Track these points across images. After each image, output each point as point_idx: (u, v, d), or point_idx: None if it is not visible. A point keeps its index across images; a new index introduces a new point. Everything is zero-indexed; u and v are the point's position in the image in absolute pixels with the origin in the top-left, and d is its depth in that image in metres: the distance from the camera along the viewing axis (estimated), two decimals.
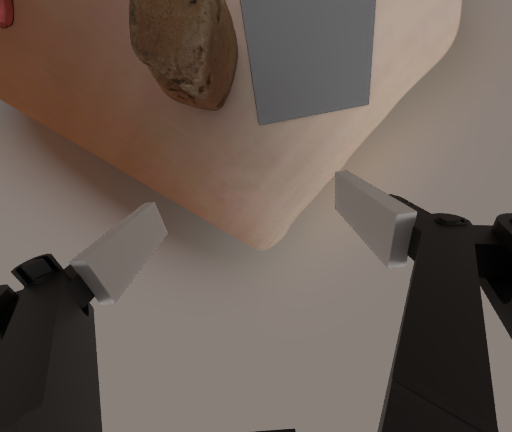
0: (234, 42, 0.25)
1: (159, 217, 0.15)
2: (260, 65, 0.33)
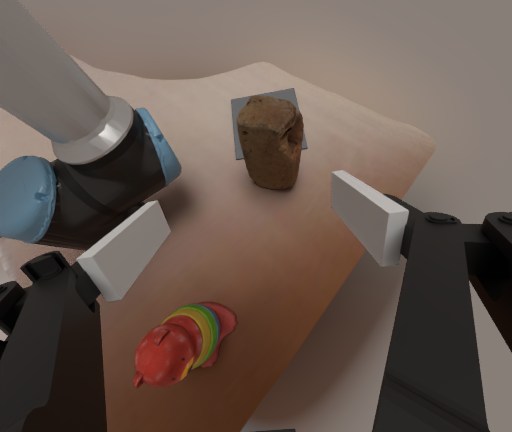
0: None
1: (162, 216, 0.15)
2: None
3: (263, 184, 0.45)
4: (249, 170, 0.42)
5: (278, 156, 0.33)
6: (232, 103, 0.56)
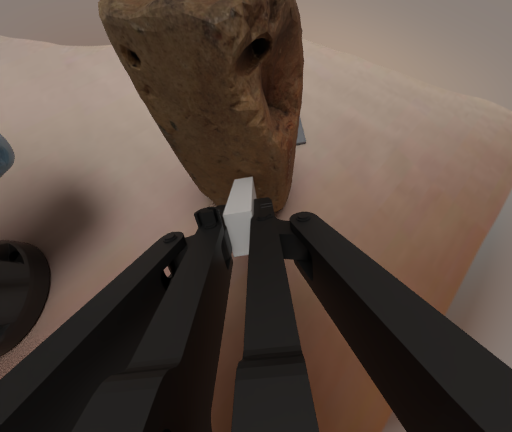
0: None
1: None
2: None
3: None
4: (193, 178, 0.21)
5: (239, 136, 0.13)
6: None
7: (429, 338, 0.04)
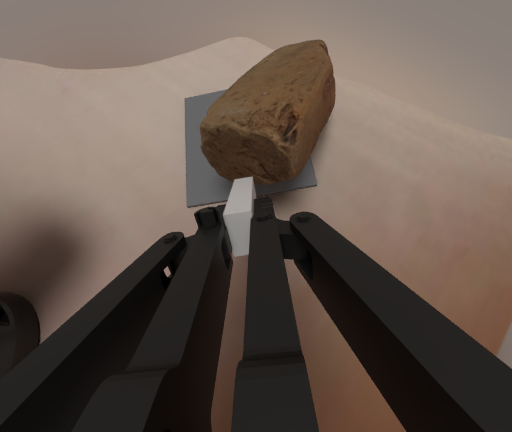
0: None
1: None
2: None
3: (224, 110, 0.17)
4: (226, 91, 0.21)
5: (309, 51, 0.21)
6: (186, 104, 0.33)
7: (429, 338, 0.04)
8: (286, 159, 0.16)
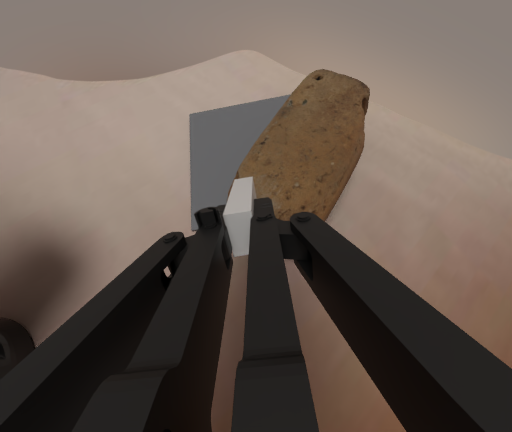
0: None
1: None
2: None
3: (258, 191, 0.19)
4: (258, 145, 0.21)
5: (349, 117, 0.21)
6: (191, 120, 0.32)
7: (429, 338, 0.04)
8: None
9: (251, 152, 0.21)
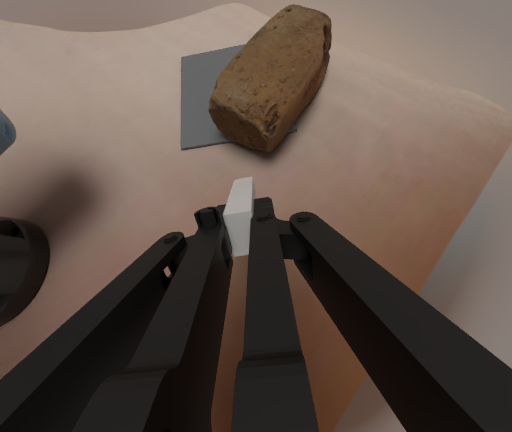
0: None
1: None
2: None
3: (231, 90, 0.23)
4: (234, 59, 0.25)
5: (310, 37, 0.25)
6: (183, 62, 0.36)
7: (429, 338, 0.04)
8: (265, 142, 0.24)
9: (228, 64, 0.25)
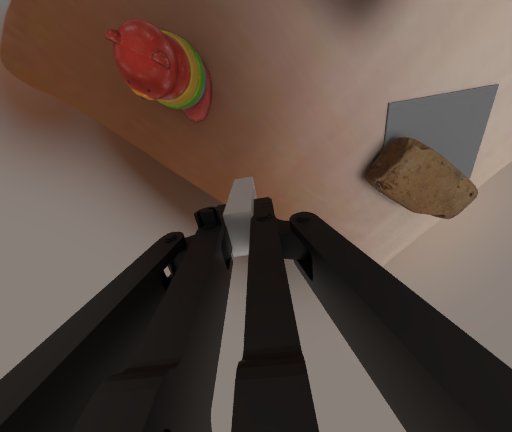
0: None
1: None
2: None
3: (413, 161, 0.35)
4: (441, 160, 0.36)
5: (437, 208, 0.40)
6: (489, 87, 0.37)
7: (429, 338, 0.04)
8: (371, 179, 0.40)
9: (438, 156, 0.35)
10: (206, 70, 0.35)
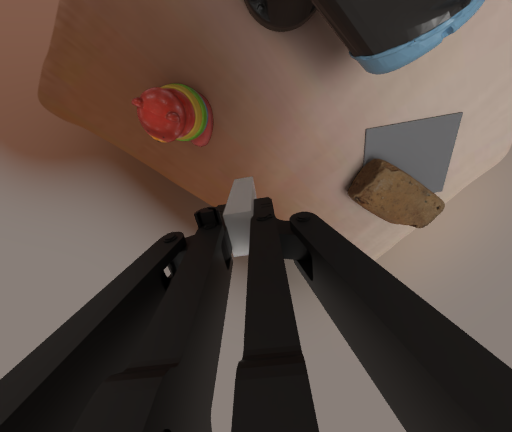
0: None
1: None
2: None
3: (384, 181, 0.41)
4: (409, 180, 0.41)
5: (408, 219, 0.46)
6: (455, 115, 0.43)
7: (429, 338, 0.04)
8: (351, 194, 0.46)
9: (406, 177, 0.41)
10: (208, 105, 0.41)
